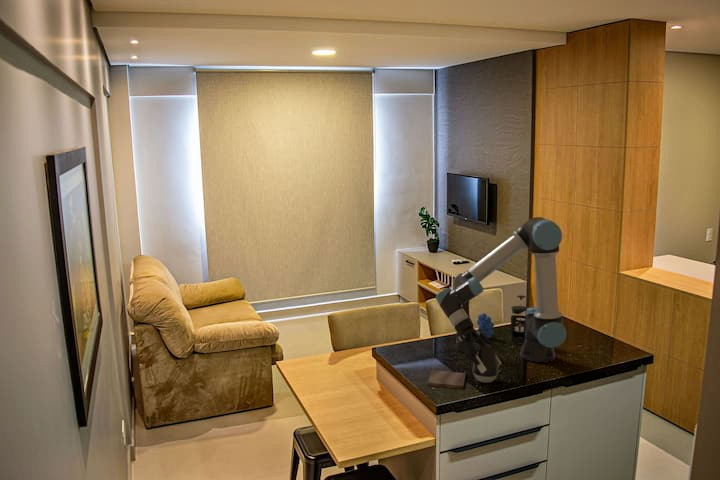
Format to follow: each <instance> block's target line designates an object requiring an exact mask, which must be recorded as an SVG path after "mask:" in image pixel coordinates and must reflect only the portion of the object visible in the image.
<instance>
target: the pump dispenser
mask: <svg viewBox="0 0 720 480" xmlns="http://www.w3.org/2000/svg"><path fill="white" fill-rule="evenodd" d="M473 348H474V350H475V352H476V353H475V354H476V356H478V357H479V358H480V360H481V362H482V363H483V365H484V366H485V368H486V369H487V370H486V371H485V372H484V373H481V372H480V370H479V369H478V367H477V366H476V365H475V364H474V363H473V365H472V373H473V376H474V378H475V380H477V381H478V382H480V383H484V384H486V383H487V384H488V383H492V382H494V381H495V380H496V378H497V376H498V374H499V366H498V363H497V358H496V355H497V354H496V352H495V351H494V350H493V348H492V347H491V346H490V345H487V344H484V345H482V346H480V347H477V346H474V347H473ZM495 354H496V355H495Z"/></svg>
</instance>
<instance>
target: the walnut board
mask: <svg viewBox="0 0 720 480" xmlns="http://www.w3.org/2000/svg"><path fill="white" fill-rule="evenodd" d="M466 374H467V373H466V372H458V371H457V372H456V371H455V372H454V371H446V370H436V369H435V370H433V369H432V370H431V371H430V375H429V377H428V381H427V386H432V387H442V388H449V389H451V388H452V389H460V390H461V389H462V390H463V389H464V385H465V380H466V376H467V375H466Z"/></svg>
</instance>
